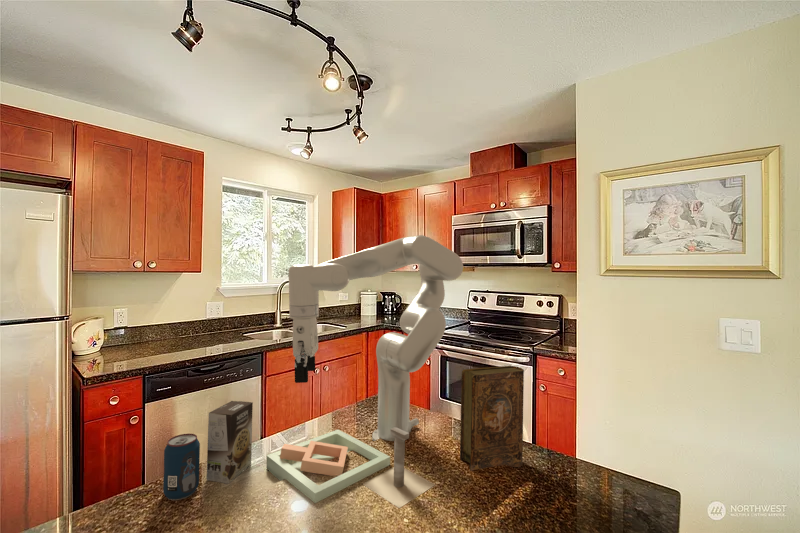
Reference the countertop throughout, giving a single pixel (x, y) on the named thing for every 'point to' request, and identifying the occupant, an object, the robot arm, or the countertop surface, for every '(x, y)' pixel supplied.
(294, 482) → the tray
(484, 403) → the book
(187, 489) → the soda can
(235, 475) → the coffee box
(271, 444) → the countertop surface
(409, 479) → the stake stand
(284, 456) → the pink flat frame
